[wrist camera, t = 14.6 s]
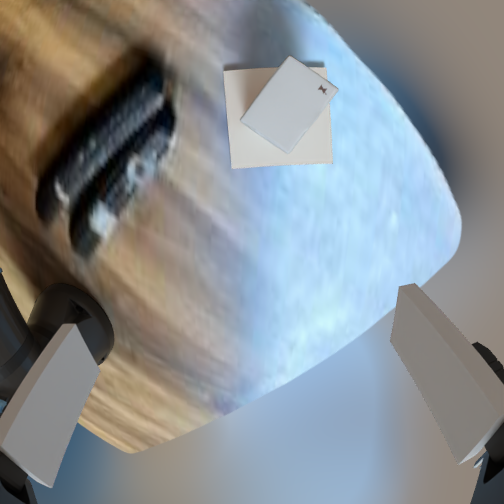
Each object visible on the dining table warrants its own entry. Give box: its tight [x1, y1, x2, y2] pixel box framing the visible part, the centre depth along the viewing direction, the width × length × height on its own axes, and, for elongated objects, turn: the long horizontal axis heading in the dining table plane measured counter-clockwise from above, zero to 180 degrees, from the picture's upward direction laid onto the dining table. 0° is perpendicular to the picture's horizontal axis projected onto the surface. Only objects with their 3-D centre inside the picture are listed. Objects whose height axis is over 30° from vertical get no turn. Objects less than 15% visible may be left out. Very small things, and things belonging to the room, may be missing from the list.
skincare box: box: [240, 56, 338, 154], centre depth 22 cm, size 6×4×12 cm
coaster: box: [223, 67, 333, 169], centre depth 28 cm, size 11×11×1 cm
